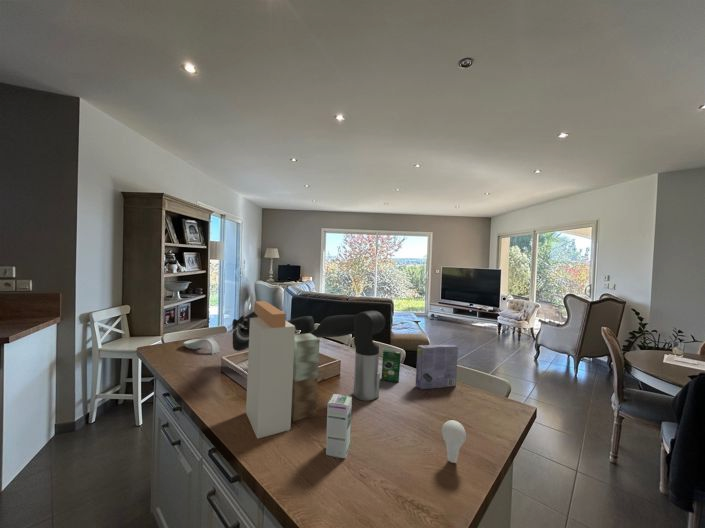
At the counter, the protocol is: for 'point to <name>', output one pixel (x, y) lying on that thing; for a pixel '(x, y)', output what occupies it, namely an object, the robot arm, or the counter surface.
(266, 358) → the stand
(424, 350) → the cake pan box
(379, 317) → the robot arm
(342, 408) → the syrup box
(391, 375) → the coffee box
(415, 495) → the counter surface
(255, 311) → the bar
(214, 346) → the spoon rest
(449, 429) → the lightbulb
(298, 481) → the counter surface
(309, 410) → the tower
